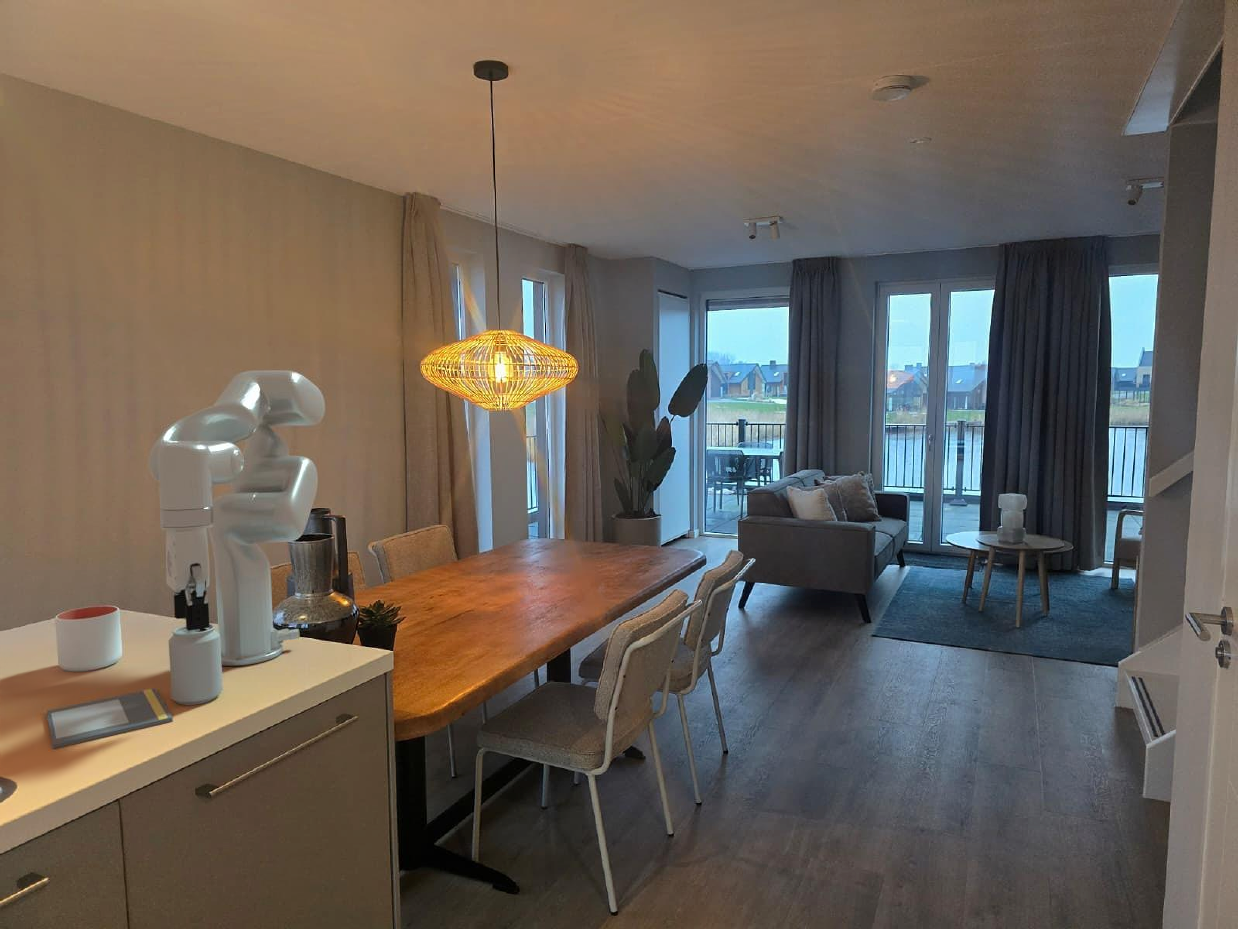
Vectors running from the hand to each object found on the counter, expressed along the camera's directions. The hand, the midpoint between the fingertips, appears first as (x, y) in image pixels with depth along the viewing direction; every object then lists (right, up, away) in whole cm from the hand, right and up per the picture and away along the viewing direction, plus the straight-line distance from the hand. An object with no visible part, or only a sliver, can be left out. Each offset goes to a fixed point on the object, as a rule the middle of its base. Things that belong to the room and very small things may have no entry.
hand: (191, 623), depth 129 cm
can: (0, -13, +2) cm, 13 cm away
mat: (-10, -14, -6) cm, 18 cm away
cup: (-29, -12, +19) cm, 37 cm away
